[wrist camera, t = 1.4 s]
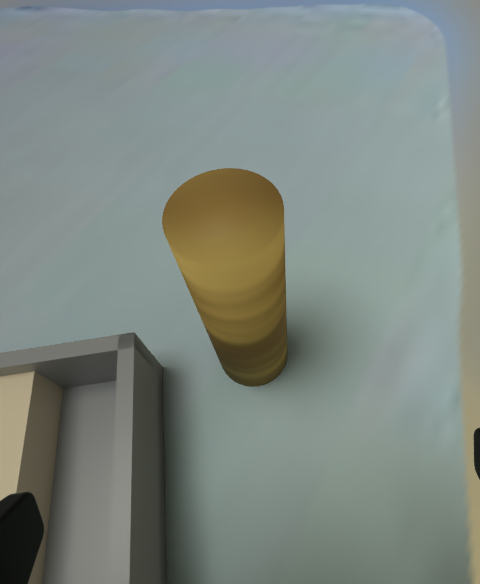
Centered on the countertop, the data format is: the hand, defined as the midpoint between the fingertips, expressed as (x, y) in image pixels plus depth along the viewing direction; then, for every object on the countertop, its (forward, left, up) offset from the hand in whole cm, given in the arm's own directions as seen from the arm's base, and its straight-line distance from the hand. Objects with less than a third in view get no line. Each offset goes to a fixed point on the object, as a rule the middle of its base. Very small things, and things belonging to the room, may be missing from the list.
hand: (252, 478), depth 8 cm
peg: (+8, 0, -14) cm, 16 cm away
